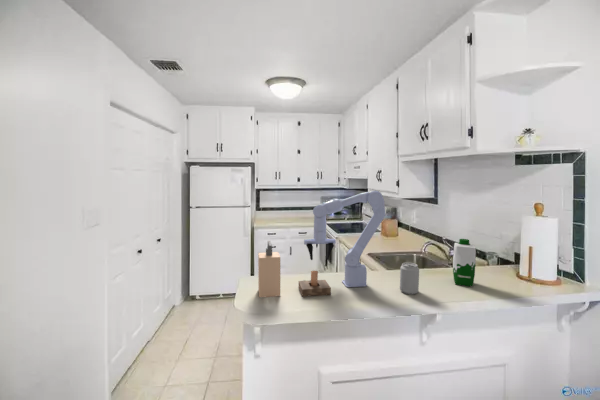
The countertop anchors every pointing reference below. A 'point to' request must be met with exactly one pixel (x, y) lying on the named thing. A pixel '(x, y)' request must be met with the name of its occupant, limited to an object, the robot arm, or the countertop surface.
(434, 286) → the countertop surface
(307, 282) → the block
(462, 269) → the milk carton
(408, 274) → the can
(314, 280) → the pin
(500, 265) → the countertop surface
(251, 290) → the countertop surface
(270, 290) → the soap dispenser
